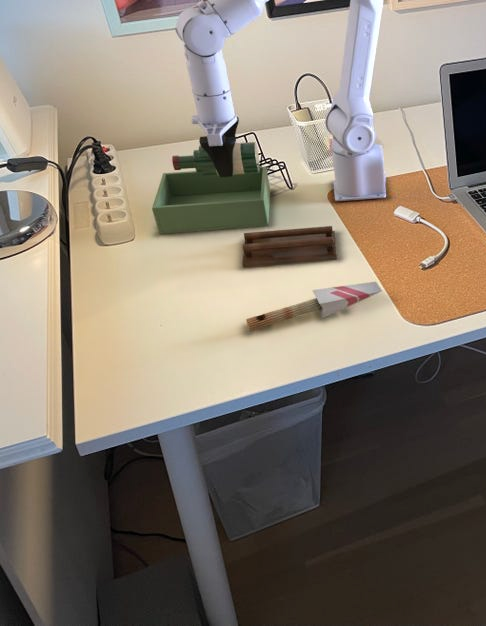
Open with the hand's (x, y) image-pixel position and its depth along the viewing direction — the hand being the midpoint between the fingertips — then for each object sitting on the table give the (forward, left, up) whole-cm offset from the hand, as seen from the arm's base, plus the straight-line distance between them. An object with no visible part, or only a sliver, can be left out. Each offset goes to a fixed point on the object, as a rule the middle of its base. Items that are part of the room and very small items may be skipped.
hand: (227, 168), depth 124 cm
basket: (+4, -3, -10) cm, 11 cm away
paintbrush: (-13, +31, -10) cm, 35 cm away
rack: (-9, +13, -10) cm, 19 cm away
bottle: (+2, 0, -1) cm, 2 cm away
